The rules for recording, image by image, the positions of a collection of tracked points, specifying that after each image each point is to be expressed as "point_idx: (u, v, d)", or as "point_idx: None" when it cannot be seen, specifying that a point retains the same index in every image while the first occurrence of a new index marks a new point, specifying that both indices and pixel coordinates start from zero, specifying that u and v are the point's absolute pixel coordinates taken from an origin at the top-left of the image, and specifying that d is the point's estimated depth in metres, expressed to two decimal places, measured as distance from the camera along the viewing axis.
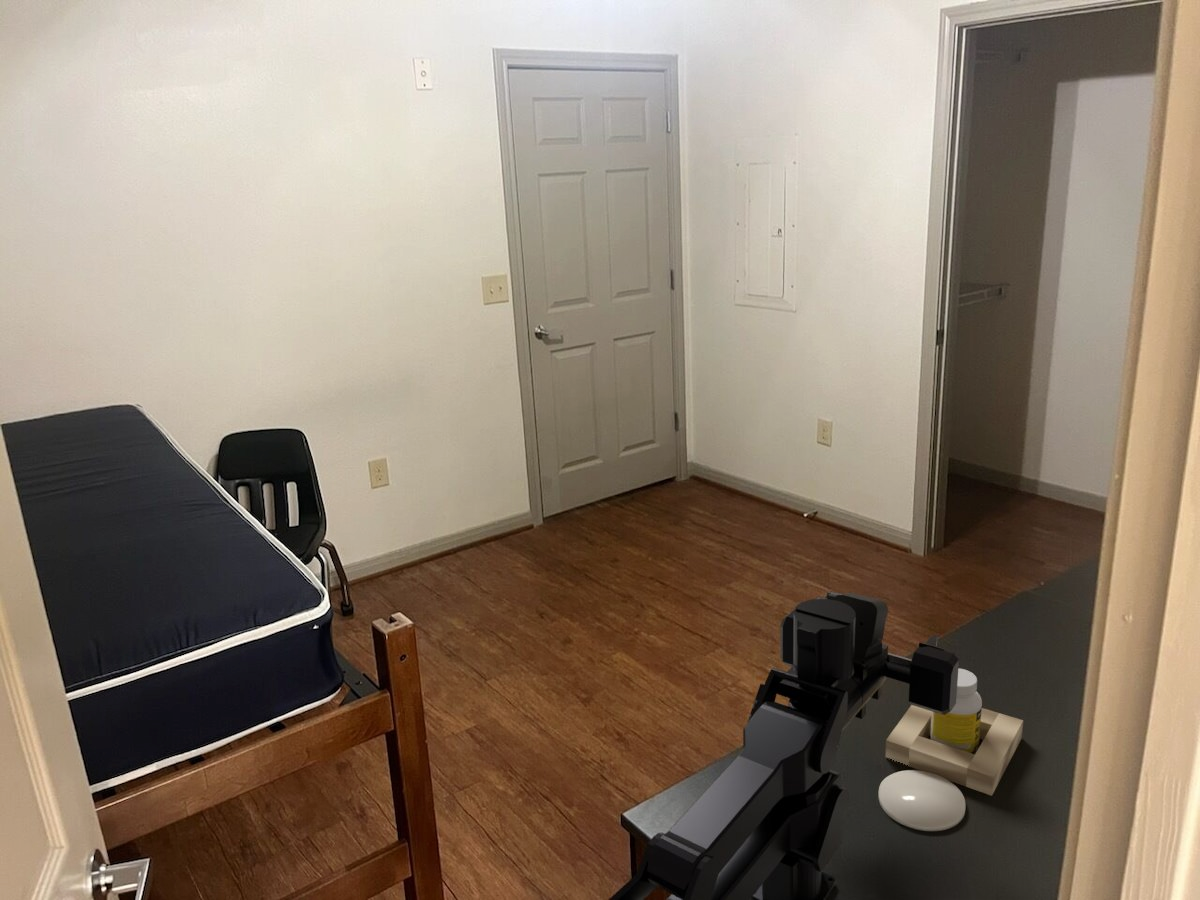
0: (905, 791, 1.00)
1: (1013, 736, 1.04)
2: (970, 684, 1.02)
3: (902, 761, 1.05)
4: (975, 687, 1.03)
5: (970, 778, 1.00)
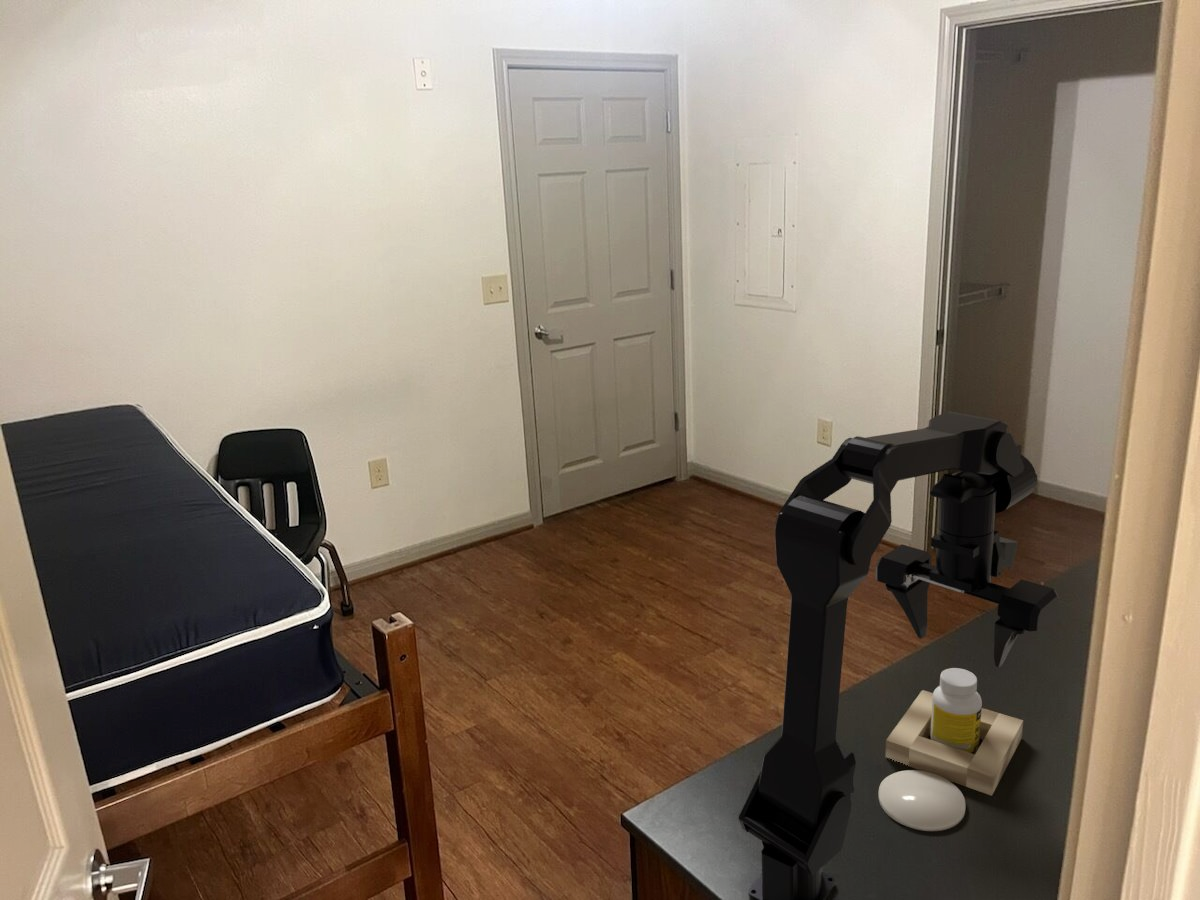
0: (905, 791, 1.00)
1: (1013, 736, 1.04)
2: (969, 684, 1.02)
3: (902, 761, 1.05)
4: (975, 687, 1.03)
5: (970, 778, 1.00)
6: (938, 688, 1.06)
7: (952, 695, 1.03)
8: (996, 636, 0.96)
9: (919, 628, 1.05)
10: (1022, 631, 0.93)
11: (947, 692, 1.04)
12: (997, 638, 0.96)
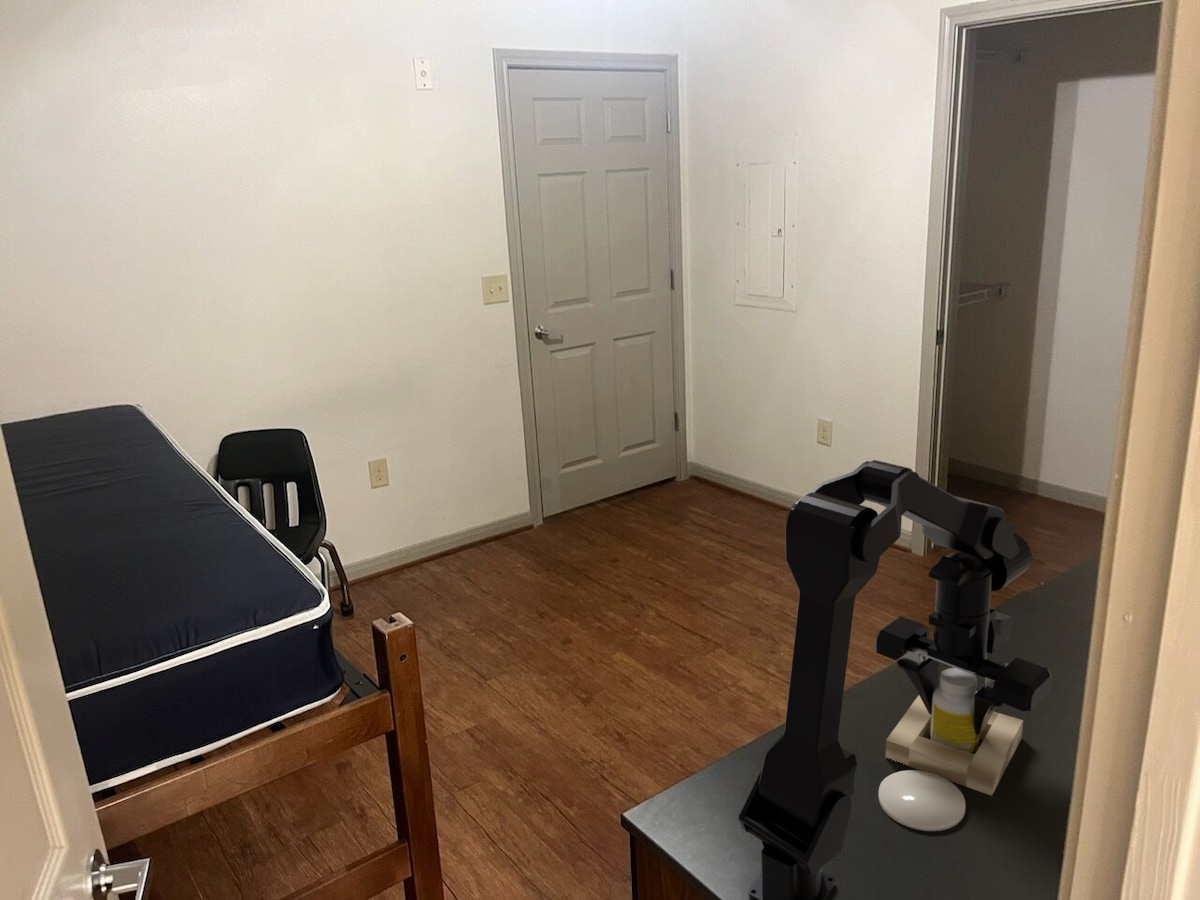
0: (905, 791, 1.00)
1: (1013, 736, 1.04)
2: (970, 684, 1.02)
3: (902, 761, 1.05)
4: (975, 687, 1.03)
5: (970, 778, 1.00)
6: (938, 688, 1.06)
7: (952, 695, 1.03)
8: (976, 707, 1.00)
9: (930, 705, 1.07)
10: (1000, 704, 0.98)
11: (947, 692, 1.04)
12: (977, 709, 1.00)
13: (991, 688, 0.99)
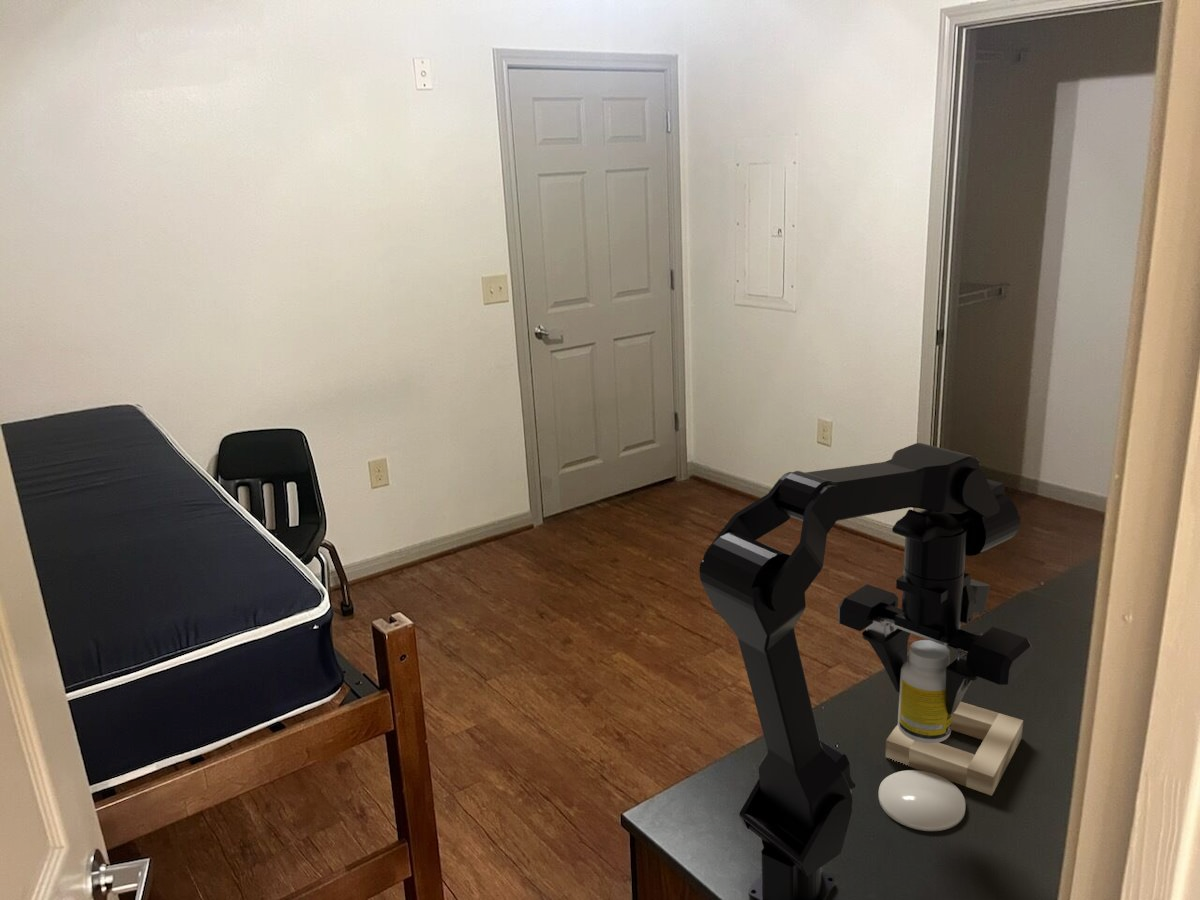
0: (905, 791, 1.00)
1: (1013, 736, 1.04)
2: (941, 656, 0.92)
3: (902, 761, 1.05)
4: (947, 660, 0.92)
5: (970, 778, 1.00)
6: (907, 662, 0.95)
7: (921, 669, 0.93)
8: (948, 681, 0.90)
9: (898, 681, 0.96)
10: (975, 677, 0.87)
11: (916, 666, 0.93)
12: (949, 684, 0.90)
13: (964, 660, 0.89)
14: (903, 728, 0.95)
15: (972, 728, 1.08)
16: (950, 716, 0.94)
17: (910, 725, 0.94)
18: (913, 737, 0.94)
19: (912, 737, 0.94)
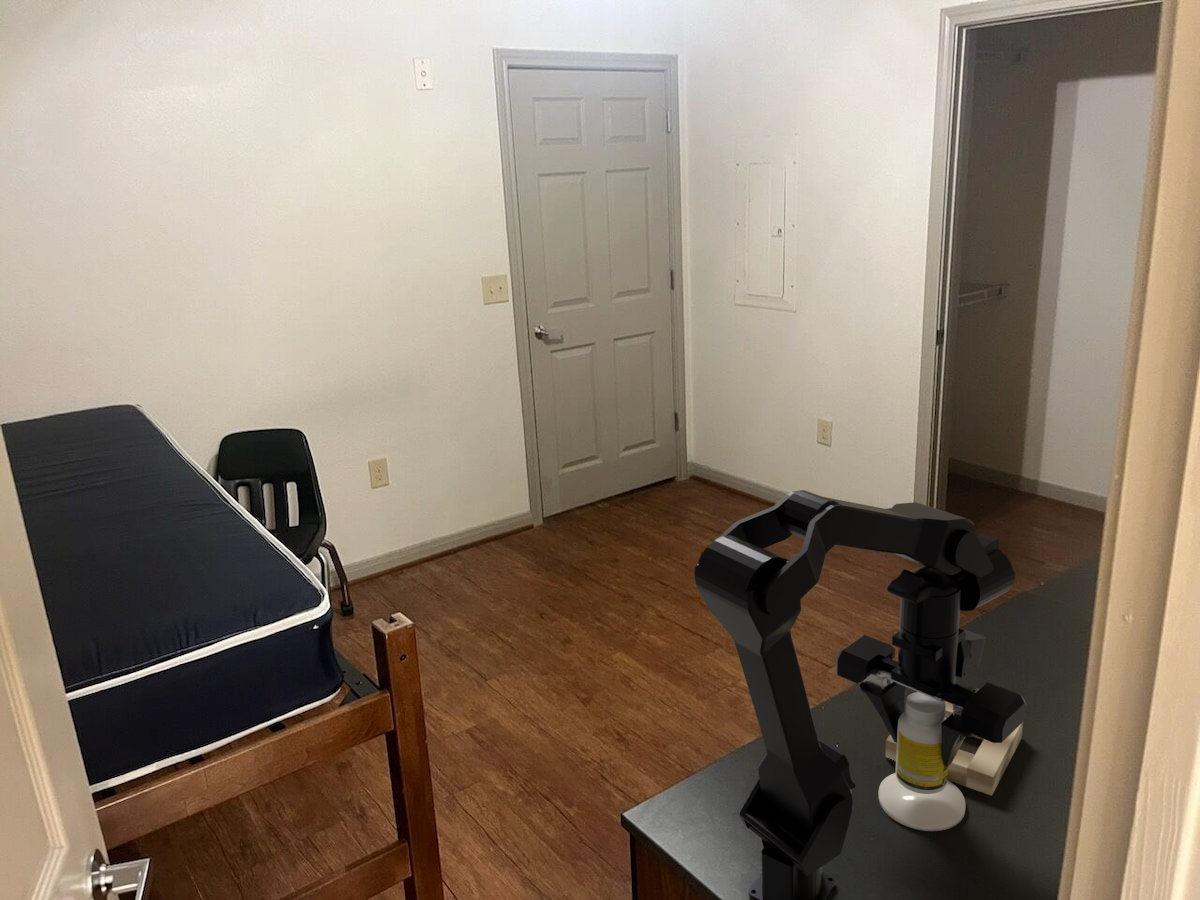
0: (905, 791, 1.00)
1: (1013, 736, 1.04)
2: (937, 710, 0.93)
3: None
4: (943, 713, 0.94)
5: (970, 778, 1.00)
6: (904, 714, 0.97)
7: (918, 722, 0.94)
8: (943, 736, 0.91)
9: (895, 732, 0.98)
10: (969, 734, 0.89)
11: (913, 719, 0.95)
12: (944, 738, 0.91)
13: (960, 716, 0.90)
14: (901, 779, 0.97)
15: None
16: (946, 767, 0.95)
17: (907, 777, 0.96)
18: (910, 788, 0.96)
19: (909, 788, 0.96)
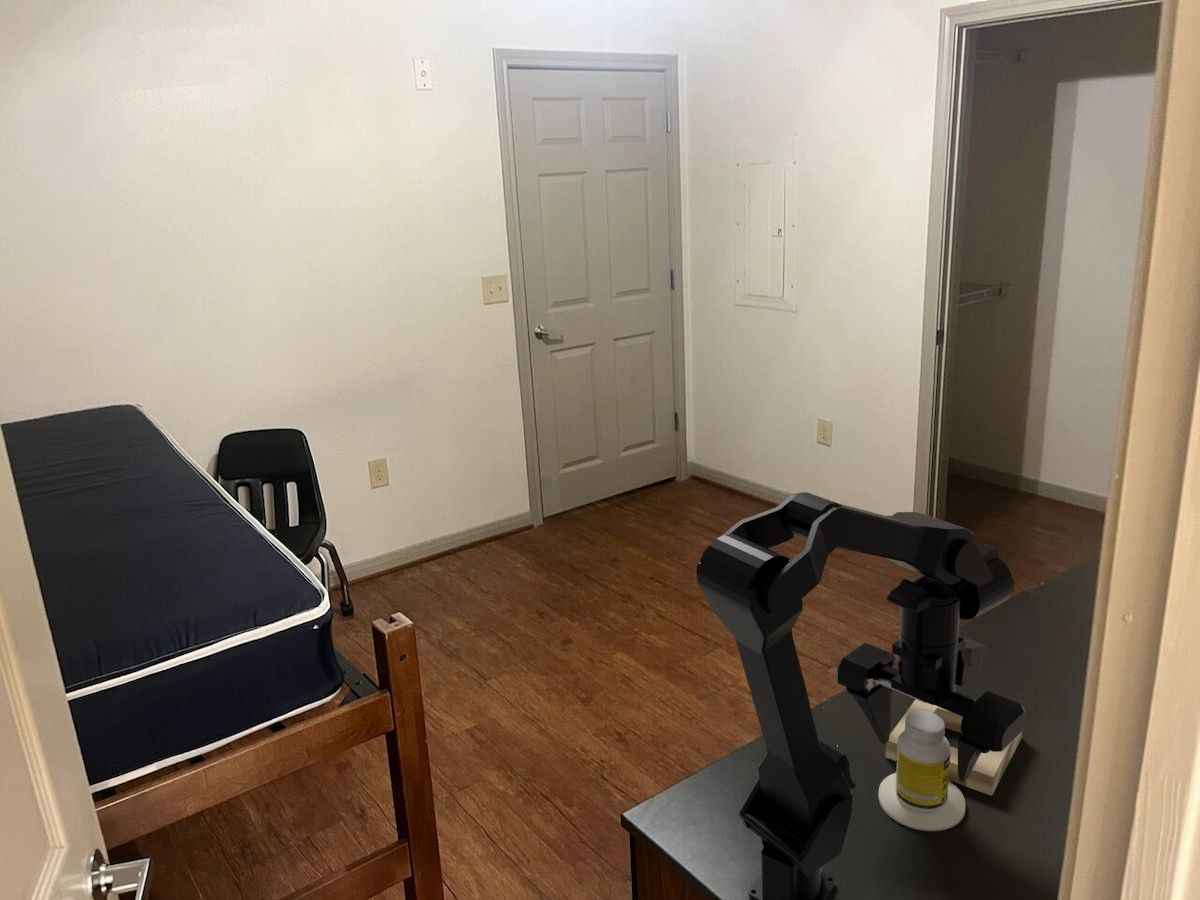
0: None
1: None
2: (936, 730, 0.94)
3: None
4: (942, 733, 0.95)
5: (970, 778, 1.00)
6: (903, 733, 0.98)
7: (917, 742, 0.95)
8: (960, 752, 0.91)
9: (881, 733, 0.99)
10: (986, 750, 0.88)
11: (912, 739, 0.95)
12: (961, 754, 0.91)
13: None
14: (900, 797, 0.98)
15: None
16: (946, 786, 0.96)
17: (907, 795, 0.97)
18: (910, 806, 0.97)
19: (909, 806, 0.97)
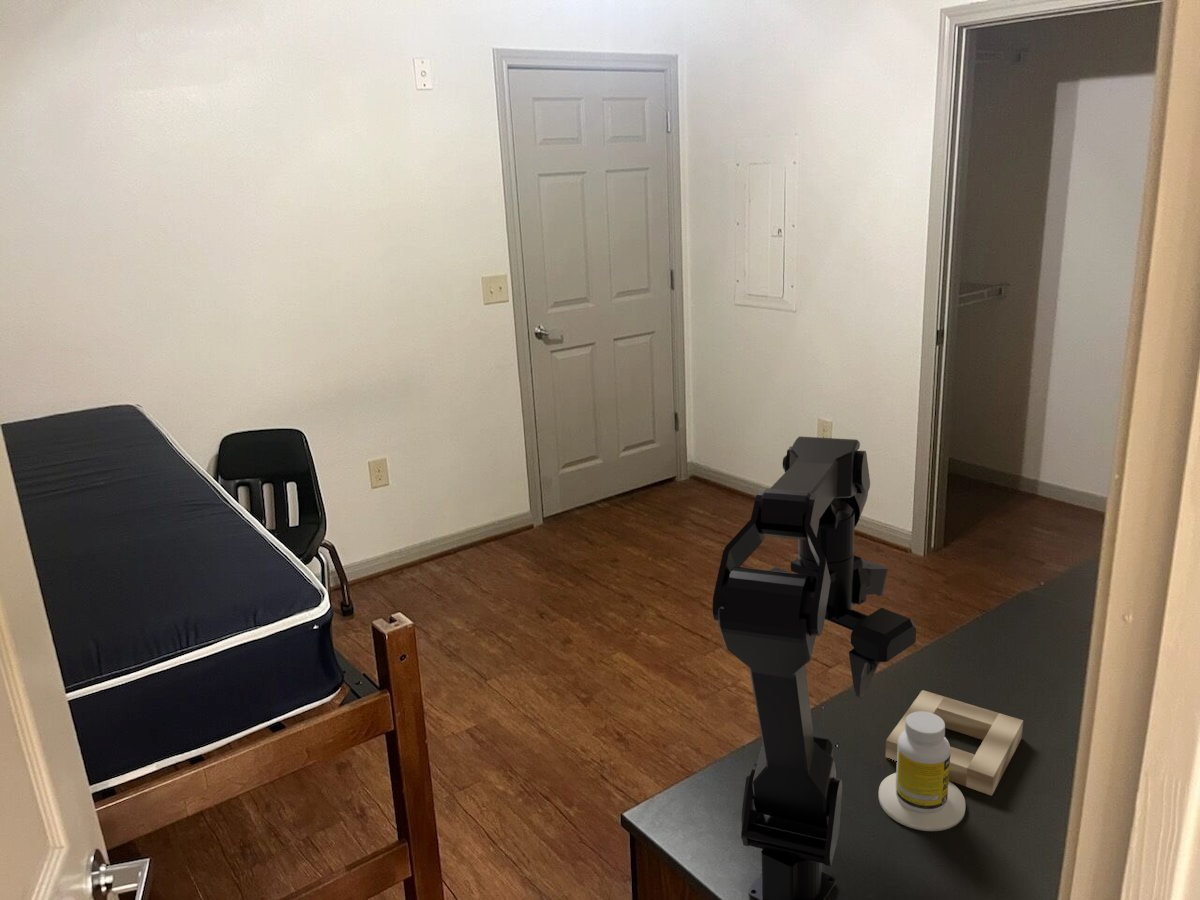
0: None
1: (1013, 736, 1.04)
2: (937, 730, 0.94)
3: None
4: (943, 733, 0.95)
5: (970, 778, 1.00)
6: (904, 733, 0.98)
7: (917, 742, 0.95)
8: (852, 665, 0.93)
9: None
10: (874, 661, 0.90)
11: (912, 739, 0.95)
12: (853, 668, 0.93)
13: None
14: (900, 797, 0.98)
15: (972, 728, 1.08)
16: (946, 786, 0.96)
17: (907, 795, 0.97)
18: (910, 807, 0.97)
19: (909, 806, 0.97)
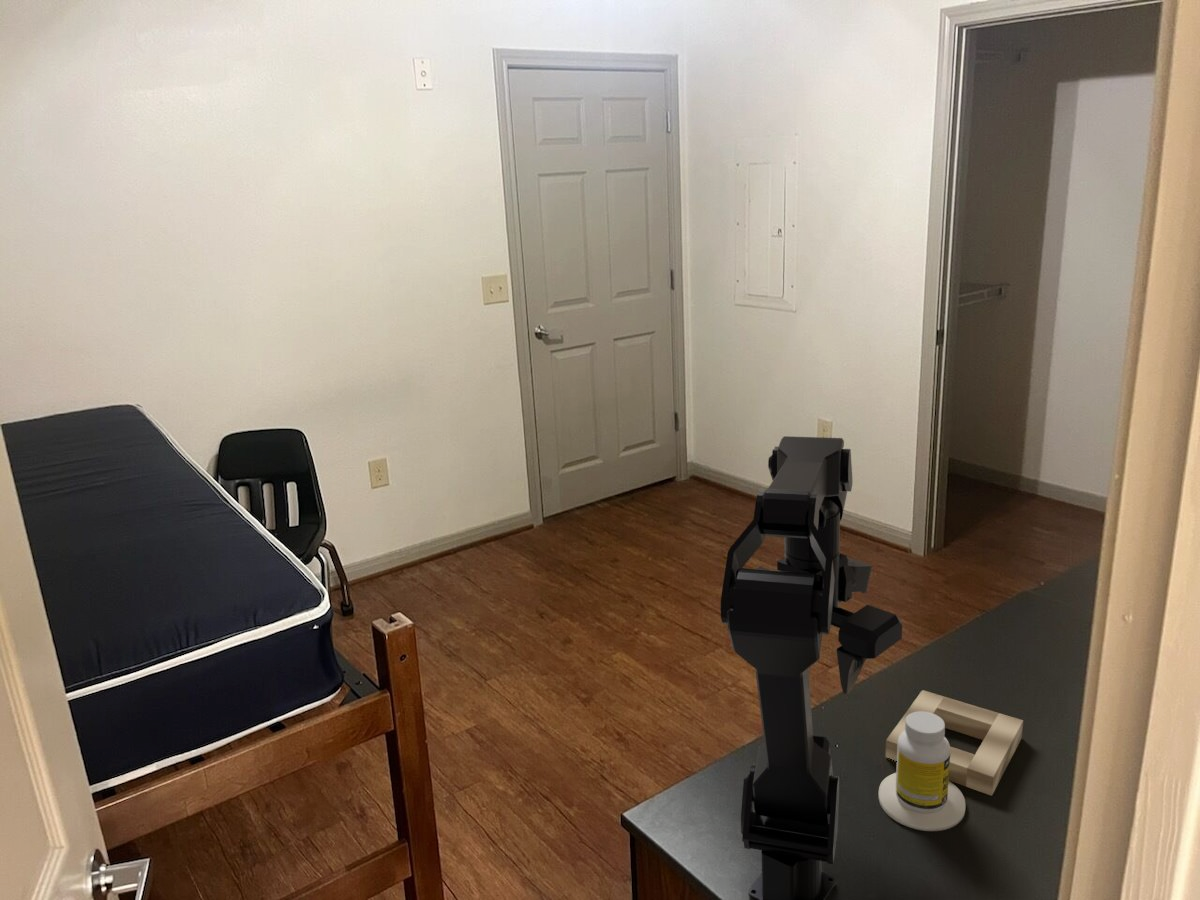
0: None
1: (1013, 736, 1.04)
2: (936, 730, 0.94)
3: None
4: (942, 733, 0.95)
5: (970, 778, 1.00)
6: (903, 733, 0.98)
7: (917, 742, 0.95)
8: (840, 663, 0.94)
9: None
10: (862, 658, 0.91)
11: (912, 739, 0.95)
12: (841, 665, 0.94)
13: None
14: (900, 797, 0.98)
15: (972, 728, 1.08)
16: (946, 786, 0.96)
17: (907, 795, 0.97)
18: (910, 807, 0.97)
19: (909, 806, 0.97)
